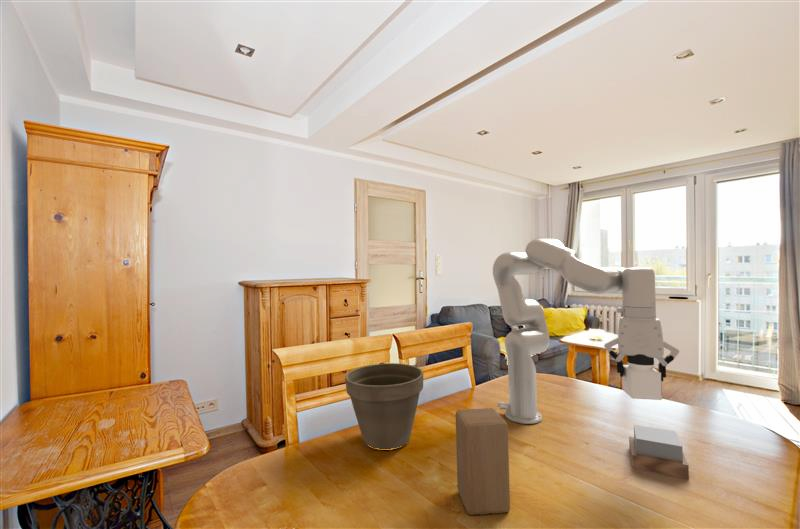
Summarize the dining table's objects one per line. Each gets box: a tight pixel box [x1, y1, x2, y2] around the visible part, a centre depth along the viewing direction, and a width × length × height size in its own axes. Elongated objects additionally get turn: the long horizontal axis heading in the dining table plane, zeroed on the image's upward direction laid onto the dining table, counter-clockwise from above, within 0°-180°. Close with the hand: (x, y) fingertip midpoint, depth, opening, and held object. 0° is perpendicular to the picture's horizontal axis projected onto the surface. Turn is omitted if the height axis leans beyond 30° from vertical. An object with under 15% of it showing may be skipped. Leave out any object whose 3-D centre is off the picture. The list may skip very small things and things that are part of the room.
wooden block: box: [455, 407, 511, 516], centre depth 86 cm, size 10×10×20 cm
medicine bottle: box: [621, 354, 663, 401], centre depth 99 cm, size 7×7×12 cm
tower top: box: [633, 424, 684, 462], centre depth 101 cm, size 10×10×4 cm
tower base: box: [628, 436, 690, 480], centre depth 101 cm, size 12×12×4 cm
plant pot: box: [344, 362, 424, 449], centre depth 118 cm, size 25×25×22 cm
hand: (640, 377), depth 99 cm, fingers closed on medicine bottle, 8 cm apart
